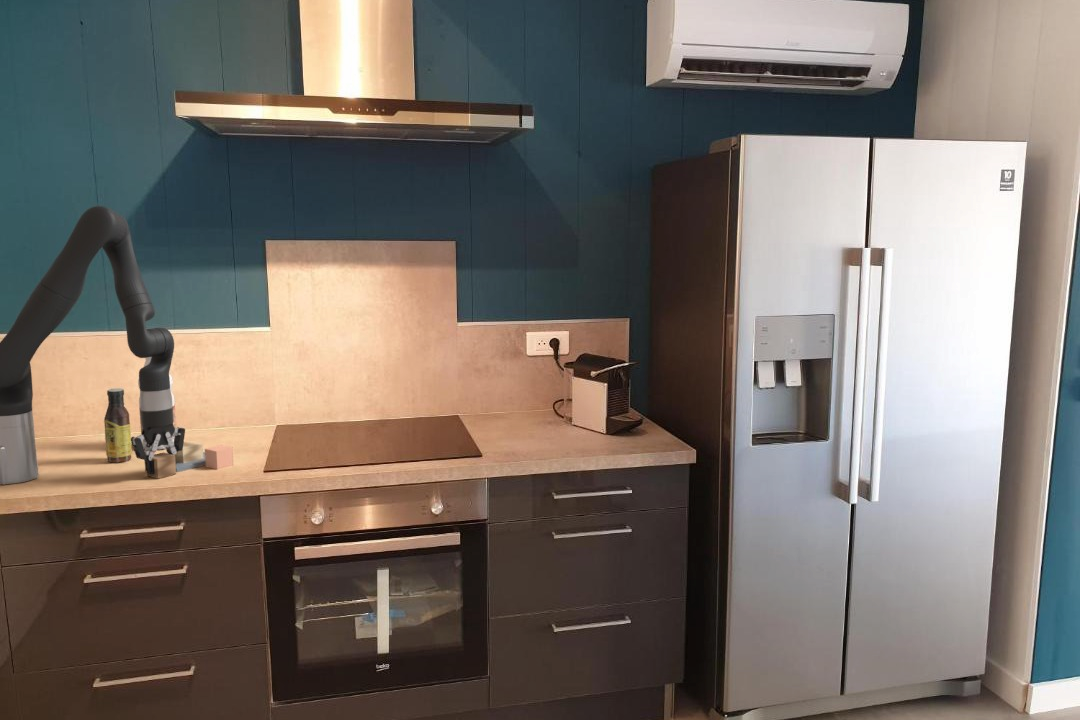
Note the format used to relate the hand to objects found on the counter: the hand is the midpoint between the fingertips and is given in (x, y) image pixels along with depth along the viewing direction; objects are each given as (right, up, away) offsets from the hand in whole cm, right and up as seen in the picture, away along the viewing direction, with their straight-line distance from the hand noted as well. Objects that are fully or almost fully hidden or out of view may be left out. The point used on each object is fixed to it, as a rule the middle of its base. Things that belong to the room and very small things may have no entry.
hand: (161, 470), depth 215 cm
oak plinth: (+2, +1, +12) cm, 12 cm away
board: (+2, +1, +12) cm, 12 cm away
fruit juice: (-13, +3, +29) cm, 32 cm away
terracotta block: (+12, 0, +9) cm, 15 cm away
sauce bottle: (-18, +1, +14) cm, 22 cm away
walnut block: (0, -1, 0) cm, 1 cm away
